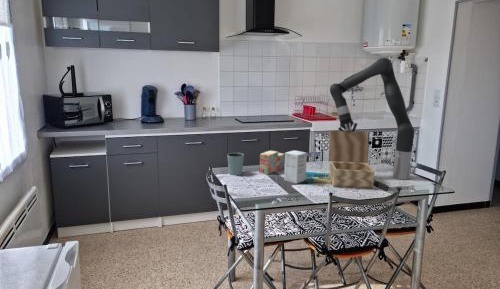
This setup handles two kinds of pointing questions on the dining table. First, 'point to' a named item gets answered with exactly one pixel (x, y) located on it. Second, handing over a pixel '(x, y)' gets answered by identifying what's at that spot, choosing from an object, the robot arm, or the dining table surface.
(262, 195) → the dining table surface
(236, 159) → the green cup
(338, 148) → the box lid
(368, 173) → the oak box
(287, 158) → the supplement box
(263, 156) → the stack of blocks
